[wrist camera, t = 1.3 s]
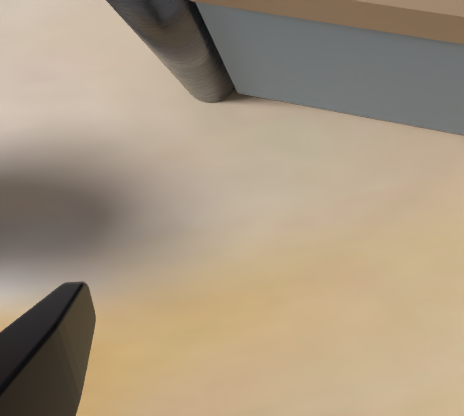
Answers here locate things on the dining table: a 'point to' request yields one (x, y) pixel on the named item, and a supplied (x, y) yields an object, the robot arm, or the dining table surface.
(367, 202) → the dining table surface
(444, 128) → the gate
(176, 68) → the hinge post
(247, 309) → the dining table surface
